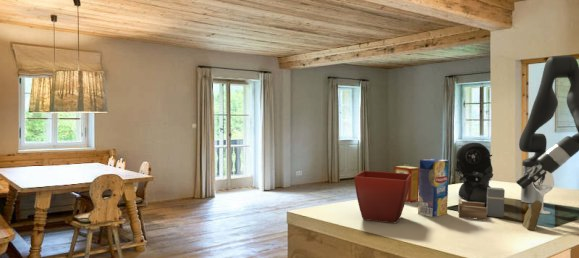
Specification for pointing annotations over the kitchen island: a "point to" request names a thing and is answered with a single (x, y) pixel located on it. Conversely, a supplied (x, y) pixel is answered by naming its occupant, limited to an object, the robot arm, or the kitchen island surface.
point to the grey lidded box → (495, 202)
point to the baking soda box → (414, 181)
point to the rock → (532, 215)
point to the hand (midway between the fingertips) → (519, 185)
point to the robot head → (474, 172)
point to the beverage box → (433, 187)
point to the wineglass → (544, 187)
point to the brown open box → (472, 209)
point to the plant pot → (381, 195)
